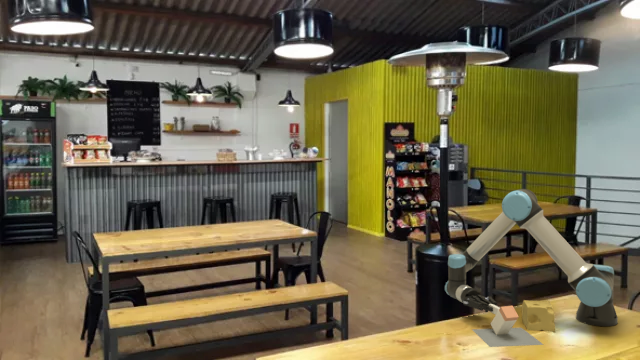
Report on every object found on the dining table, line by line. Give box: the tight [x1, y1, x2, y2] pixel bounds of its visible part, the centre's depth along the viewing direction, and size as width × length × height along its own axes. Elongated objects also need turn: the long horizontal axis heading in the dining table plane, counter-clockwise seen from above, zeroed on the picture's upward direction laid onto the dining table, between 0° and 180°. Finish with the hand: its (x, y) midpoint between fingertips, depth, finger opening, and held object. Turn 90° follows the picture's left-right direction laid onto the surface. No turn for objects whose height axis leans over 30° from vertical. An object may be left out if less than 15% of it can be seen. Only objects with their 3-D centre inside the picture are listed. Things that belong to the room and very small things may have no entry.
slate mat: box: [471, 327, 545, 348], centre depth 200 cm, size 20×18×1 cm
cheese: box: [521, 299, 556, 334], centre depth 211 cm, size 10×11×10 cm
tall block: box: [490, 305, 519, 335], centre depth 201 cm, size 5×5×11 cm
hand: (499, 312), depth 203 cm, fingers closed
